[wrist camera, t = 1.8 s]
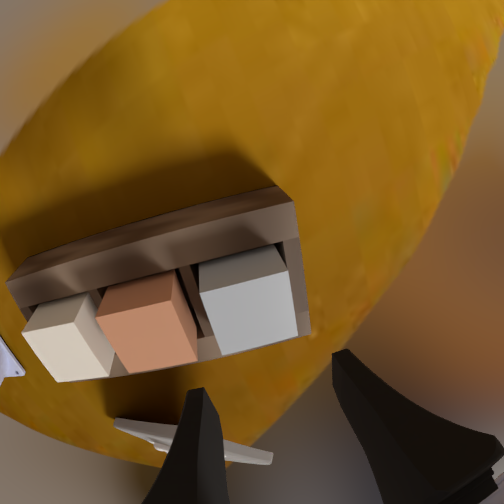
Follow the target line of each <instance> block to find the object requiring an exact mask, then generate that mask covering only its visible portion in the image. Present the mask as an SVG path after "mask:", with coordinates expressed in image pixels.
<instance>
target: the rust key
mask: <svg viewBox="0 0 504 504" xmlns="http://www.w3.org/2000/svg"><path fill="white" fill-rule="evenodd" d="M95 319H96V320H97V322H98V324H99V326H100V327H101V329H102V331H103V333H104V334H105V336H106V338H107V339H108V341H109V343H110V344H111V346H112V348H113V349H114V351H115V352H116V354H117V356H118V357H119V359H120V360H121V362H122V363H123V365H124V366H125V368H126V369H127V371H128V372H129V373H135V372H142V371H148V370H153V369H159V368H165V367H170V366H175V365H180V364H185V363H190V362H195V361H198V356H197V327H196V324H195V322H194V319H193V317H192V314H191V312H190V309H189V307H188V304H187V301H186V299H185V296H184V294H183V291H182V288H181V286H180V283H179V280H178V278H177V275H176V272H175V269H174V270H171V271H167V272H163V273H159V274H155V275H151V276H147V277H143V278H139V279H135V280H131V281H128V282H124V283H120V284H116V285H112V286H108V288H107V290H106V292H105V295H104V297H103V299H102V302H101V304H100V307H99V309H98V311H97V314H96V316H95Z"/></svg>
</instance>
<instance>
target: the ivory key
mask: <svg viewBox="0 0 504 504" xmlns="http://www.w3.org/2000/svg"><path fill="white" fill-rule="evenodd" d="M97 311H98V309H97V307H96V305H95V304H94V302H93V300H92V298H91V296H90V294H89V292H85V293H81V294H77V295H73V296H69V297H65V298H62V299H58V300H54V301H50V302H46V303H42V304H39V305H38V307H37V309H36V310H35V312H34V313H33V315H32V316H31V318H30V320H29V321H28V323H27V325H26V326H25V328H24V330H23V331H22V335H23V336H24V338H25V339H26V341H27V342H28V344H29V345H30V346H31V348H32V349H33V351H34V352H35V354H36V355H37V356H38V358H39V359H40V360H41V362H42V363H43V364H44V366H45V367H46V368H47V370H48V371H49V372H50V374H51V375H52V376H53V377H54V379H55V380H56V381H57V382H65V381H75V380H84V379H93V378H101V377H108V376H109V375H110V370H111V366H112V362H113V358H114V354H115V351H114V349H113V348H112V346H111V344H110V343H109V341H108V339H107V338H106V336H105V334H104V333H103V331H102V329H101V327H100V326H99V324H98V322H97V320H96V319H95V316H96V314H97Z"/></svg>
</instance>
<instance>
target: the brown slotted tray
mask: <svg viewBox="0 0 504 504" xmlns="http://www.w3.org/2000/svg"><path fill="white" fill-rule="evenodd" d="M273 244H274V246H275V248H276V249H277V251H278V253H279V255H280V257H281V258H282V260H283V262H284V264H285V266H286V268H287V269H288V273H289V279H290V285H291V292H292V298H293V305H294V311H295V318H296V325H297V331H298V336H296V337H292V338H289V339H285V340H282V341H278V342H274V343H271V344H267V345H263V346H259V347H255V348H251V349H247V350H243V351H239V352H235V353H231V354H227V355H222V353H221V350H220V348H219V345H218V343H217V340H216V337H215V335H214V332H213V329H212V327H211V324H210V321H209V318H208V316H207V313H206V310H205V307H204V305H203V302H202V299H201V296H200V293H199V263H202V262H206V261H210V260H214V259H217V258H221V257H225V256H229V255H233V254H237V253H241V252H245V251H249V250H253V249H257V248H261V247H265V246H269V245H273ZM174 269H175V272H176V275H177V278H178V280H179V283H180V286H181V288H182V291H183V294H184V296H185V299H186V301H187V304H188V307H189V309H190V312H191V314H192V317H193V319H194V322H195V324H196V327H197V356H198V361H195V362H190V363H185V364H180V365H175V366H170V367H165V368H159V369H153V370H148V371H142V372H135V373H129V372H128V371H127V369H126V368H125V366H124V365H123V363H122V362H121V360H120V359H119V357H118V356H117V354H116V352H115V354H114V358H113V362H112V366H111V370H110V375H109V376H108V377H101V378H93V379H84V380H75V381H69V382H79V381H88V380H97V379H105V378H112V377H119V376H126V375H133V374H139V373H145V372H151V371H157V370H163V369H168V368H173V367H179V366H184V365H189V364H194V363H198V362H203V361H208V360H212V359H217V358H221V357H226V356H230V355H234V354H238V353H242V352H246V351H250V350H254V349H258V348H262V347H266V346H270V345H273V344H277V343H281V342H284V341H288V340H291V339H295V338H298V337H302V336H305V335H308V334H311V327H310V318H309V309H308V301H307V293H306V285H305V277H304V269H303V261H302V254H301V247H300V240H299V233H298V226H297V219H296V213H295V206H294V201H293V200H292V199H291V198H290V197H289V196H288V195H287V194H286V193H285V192H284V191H283V190H282V189H281V188H279V187H278V186H277V185H276V186H272V187H268V188H263V189H259V190H255V191H250V192H246V193H242V194H238V195H234V196H230V197H226V198H222V199H218V200H214V201H210V202H206V203H202V204H198V205H195V206H191V207H187V208H183V209H180V210H176V211H172V212H169V213H165V214H162V215H158V216H155V217H151V218H148V219H144V220H141V221H138V222H134V223H131V224H127V225H124V226H121V227H118V228H114V229H111V230H108V231H105V232H102V233H98V234H95V235H92V236H89V237H86V238H83V239H80V240H77V241H74V242H71V243H68V244H65V245H62V246H59V247H56V248H54V249H51V250H48V251H45V252H42V253H39V254H37V255H34V256H31V257H28V258H27V259H26V260H25V261H24V262H23V263H22V264H21V265H20V266H19V268H18V269H17V270H16V271H15V272H14V273H13V274H12V275H11V276H10V278H9V279H8V280H7V281H6V282H5V283H6V285H7V287H8V289H9V291H10V293H11V295H12V296H13V298H14V300H15V302H16V304H17V305H18V307H19V309H20V310H21V312H22V314H23V315H24V317H25V319H26V320H27V322H28V321H29V320H30V318H31V316H32V315H33V313H34V312H35V310H36V309H37V307H38V305H39V304H42V303H46V302H50V301H54V300H58V299H62V298H65V297H69V296H73V295H77V294H81V293H85V292H89V294H90V296H91V298H92V300H93V302H94V304H95V305H96V307H97V309H99V307H100V304H101V302H102V299H103V297H104V295H105V292H106V290H107V288H108V286H112V285H116V284H120V283H124V282H128V281H131V280H135V279H139V278H143V277H147V276H151V275H155V274H159V273H163V272H167V271H171V270H174Z"/></svg>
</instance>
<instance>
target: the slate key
mask: <svg viewBox="0 0 504 504" xmlns="http://www.w3.org/2000/svg"><path fill="white" fill-rule="evenodd" d="M199 293H200V296H201V299H202V302H203V305H204V307H205V310H206V313H207V316H208V318H209V321H210V324H211V327H212V329H213V332H214V335H215V337H216V340H217V343H218V345H219V348H220V350H221V353H222V355H227V354H231V353H235V352H239V351H243V350H247V349H251V348H255V347H259V346H263V345H267V344H271V343H274V342H278V341H282V340H285V339H289V338H292V337H296V336H298V331H297V325H296V318H295V311H294V305H293V298H292V292H291V285H290V279H289V273H288V269H287V268H286V266H285V264H284V262H283V260H282V258H281V257H280V255H279V253H278V251H277V249H276V248H275V246H274V244H273V245H269V246H265V247H261V248H257V249H253V250H249V251H245V252H241V253H237V254H233V255H229V256H225V257H221V258H217V259H214V260H210V261H206V262H202V263H199Z"/></svg>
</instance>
